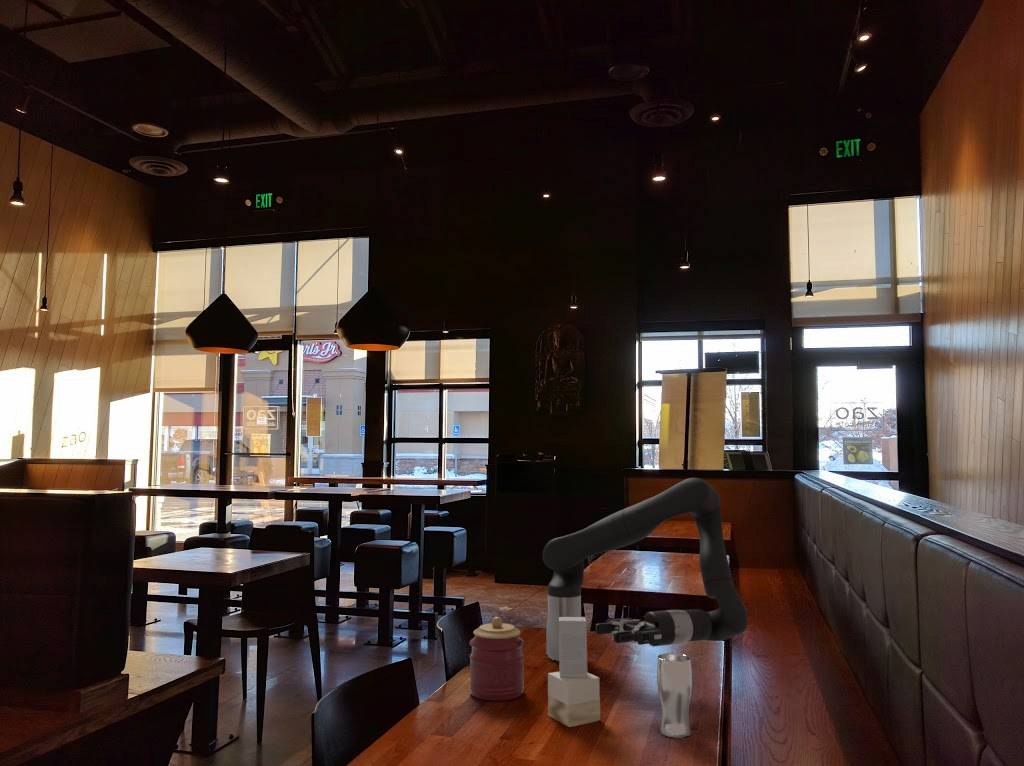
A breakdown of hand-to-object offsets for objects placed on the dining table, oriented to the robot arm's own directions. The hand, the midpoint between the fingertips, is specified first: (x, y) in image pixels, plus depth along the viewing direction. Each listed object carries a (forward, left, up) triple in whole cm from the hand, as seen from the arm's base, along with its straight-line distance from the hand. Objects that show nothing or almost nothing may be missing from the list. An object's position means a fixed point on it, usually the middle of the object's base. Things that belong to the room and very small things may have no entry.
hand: (605, 633), depth 166 cm
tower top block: (-1, -8, -13) cm, 15 cm away
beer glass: (+17, +5, -17) cm, 24 cm away
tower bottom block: (-1, -8, -17) cm, 19 cm away
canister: (-24, -13, -17) cm, 33 cm away
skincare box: (-1, -8, -8) cm, 12 cm away
